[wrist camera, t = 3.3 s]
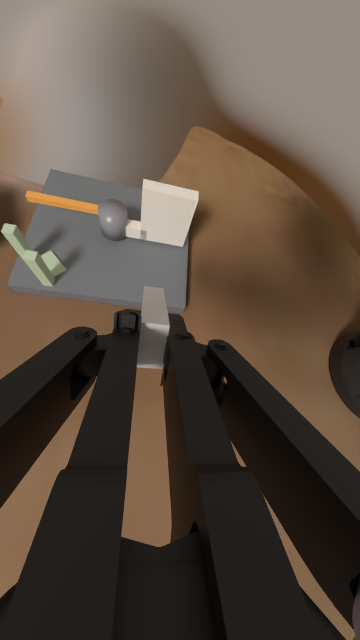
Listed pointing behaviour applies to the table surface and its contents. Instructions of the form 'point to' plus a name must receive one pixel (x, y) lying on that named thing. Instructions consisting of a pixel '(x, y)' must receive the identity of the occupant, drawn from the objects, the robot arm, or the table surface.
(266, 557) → the robot arm
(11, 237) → the lever toy board
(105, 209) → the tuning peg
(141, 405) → the table surface
